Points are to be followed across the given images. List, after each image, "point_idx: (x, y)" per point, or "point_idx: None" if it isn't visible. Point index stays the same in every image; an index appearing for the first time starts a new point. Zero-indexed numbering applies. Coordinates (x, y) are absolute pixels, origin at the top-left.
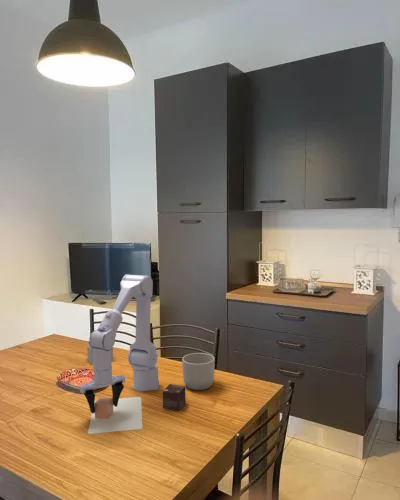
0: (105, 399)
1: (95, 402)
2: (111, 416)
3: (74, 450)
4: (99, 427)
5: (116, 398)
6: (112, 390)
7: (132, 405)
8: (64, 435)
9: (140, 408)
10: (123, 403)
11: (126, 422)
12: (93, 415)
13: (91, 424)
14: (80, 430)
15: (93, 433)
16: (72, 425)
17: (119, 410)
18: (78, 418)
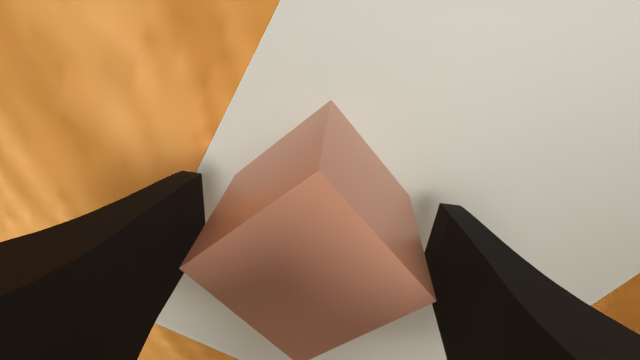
0: (335, 281)
1: (194, 265)
2: None
3: None
4: (214, 300)
5: (446, 351)
6: (513, 318)
7: (617, 209)
8: (4, 185)
9: (603, 288)
10: (607, 115)
11: (381, 355)
12: (237, 133)
13: None
14: (114, 199)
15: (162, 324)
16: (64, 95)
17: (465, 207)
18: (129, 7)
